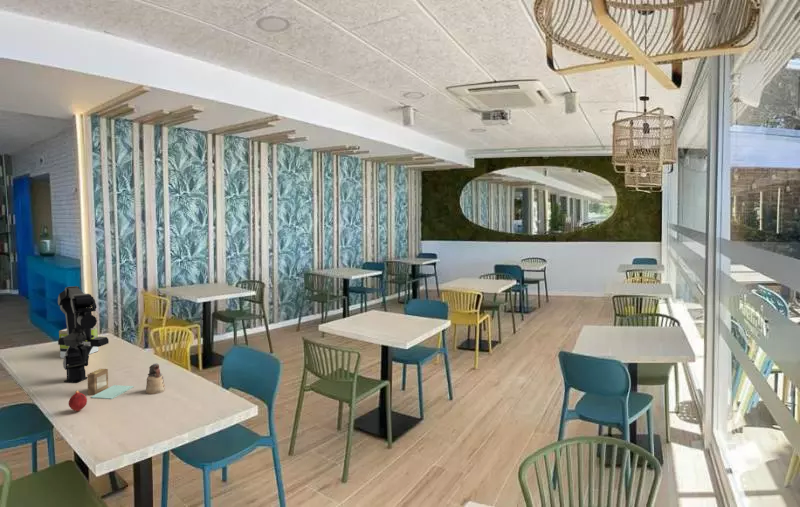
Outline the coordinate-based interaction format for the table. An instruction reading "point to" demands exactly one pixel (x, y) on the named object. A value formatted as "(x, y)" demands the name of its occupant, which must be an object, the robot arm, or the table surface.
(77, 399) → the onion
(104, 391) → the mat
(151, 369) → the figurine
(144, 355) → the table surface
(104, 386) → the menu stand
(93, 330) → the tea box
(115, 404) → the table surface
